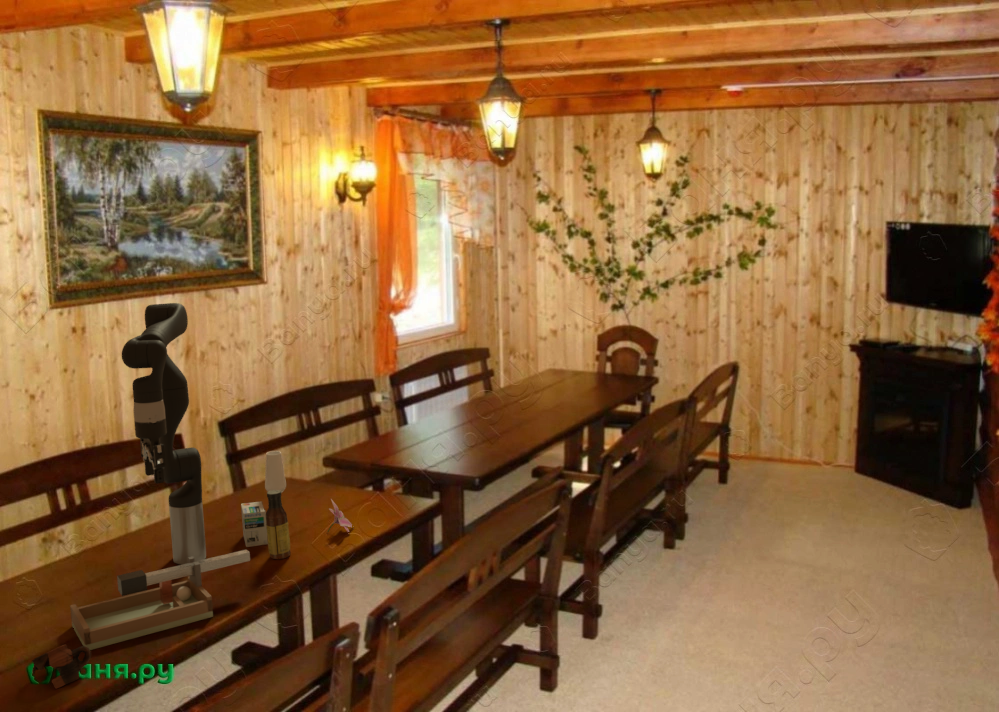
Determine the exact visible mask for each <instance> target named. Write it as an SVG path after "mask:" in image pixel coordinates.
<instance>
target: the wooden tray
mask: <svg viewBox="0 0 999 712" xmlns="http://www.w3.org/2000/svg"><path fill="white" fill-rule="evenodd" d="M191 562H195V559H194V557H193V556H192V557H188V563H191ZM202 581H203V580H202V573H201V568H200V563H199V562H196V563H194V574H193V575H189V576H187V579H186V580H184V581H183V580H182V581H179V582H175V583H172V595H173V602H171V603H167V604H163V603H162V602H161V597H160V586H159V587H155V588H151V589H147V590H145V591H141V592H137V593H133V594H129V595H125V596H122V595H121V596H119V597H115V598H111V599H106V600H103V601H97V602H95V603H90V604H87V605H82V606H77V604H71V605H70V604H69V607H70V618H71V626H72V628H74V629H73V631H74V632H75V634H76V636H77V637H78V639H79V641H80V643H81V644H82V646H85V647H88V648H89V650H90V651H92V650H95V649H99V648H104V647H106V646H110V645H113V644H117V643H121V642H125V641H129V640H133V639H136V638H139V637H140V638H141V637H144V636H146V635H147V636H148V635H150V634H154V633H158V632H162V631H165V630H170V629H173V628H177V627H180V626H183V625H184V626H185V625H188V624H191V623H195V622H199V621H201V620H202V621H203V620H207V619H209V618H212V617H214V609H213V597H212V595H211V594H210V593H209V591H207V590H206V589H205V588H204V587H203V584H202ZM183 586H186V587H188V588H189V589H190V590H191V596H190V598H189V599H187V600H185V601H182V600H180V599H179V598H178V596H177V595H176V594H177V590H178V589H179V588H180V587H183Z"/></svg>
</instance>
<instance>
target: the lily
mask: <svg viewBox="0 0 999 712" xmlns="http://www.w3.org/2000/svg"><path fill="white" fill-rule="evenodd" d="M330 500H331V503H332V506H333V509H332V508H328V510H329V511H330V512H331V513H332V514H333V515H334V518H333V519H334V520H333V522H332V524H331V525H330V527H329V528H328V530H327V532H328V533H329V532H330V530H331V528H332V527H333V526H334V525H335V524H338V525H339V526H340V527H344V529H345V530H346V532H347V533H348V532H350V530H349V528H352V525H353V524H352V522H350V520H349V519H348V518H347V516H346V515H345V514H344V513H343V512H342V510H339V507H338V505H337V504H336V503H335V502H334V500H333V499H332V498H330ZM348 527H349V528H348Z"/></svg>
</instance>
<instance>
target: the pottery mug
mask: <svg viewBox="0 0 999 712" xmlns="http://www.w3.org/2000/svg"><path fill="white" fill-rule="evenodd" d="M81 653H83V654H84V657H83V659H82V660H80V656H81ZM92 653H93V652H92V650H89V648H88V647H85V646H83V645H82V646H78V647H77V648H75V649H70V648H68V646H67V644H62V645H59V646H57V647H55V648H53V649H52V650H49V651H47V652H45V653H43V654H41V655H38V656H37V657H36V658H34V659H33V660H32V661H31V662H32V663H33V667H32V670H31V671H32V675H34V674H35V673H36V671H43V670H44V669H45V668H49V667H51V668H53V669H54V670H56V671H58V673H59V675H58V676H56V677H55V678H53V679H52V680H51V683H52V685H53V687H54V689H55V690H57V689H60V688H61V687H63V686H65V685H68V684H70V683H73V682H75V681H77V680H78V679H80V672H82V671H83V668H84V667H85V666H87V664H89V662H90V660H91V658H92Z"/></svg>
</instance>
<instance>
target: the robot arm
mask: <svg viewBox="0 0 999 712" xmlns="http://www.w3.org/2000/svg"><path fill="white" fill-rule="evenodd" d="M188 319H189V318H188V312H187V310H186V308H185V306H184V305H183V304H182V303H177V302H168V303H158V304H157V303H156V304H150V305H149V304H148V305H147V306H146V307H145V309H144V324H145V329H144V331H142V333H141V334H140V335H137V336H135V337H132V338H131V339H129V340H128V341H126V343H125V344H124V345H123V347H122V349H121V359H122V362H123V364H124V365H125V366H126V367H128V368H129V369H135V370H136V369H137V370H138V369H152V370H151V373H150V374H147V375H144V376H139V377H137V378H135V379H134V380H133V381H132V397H133V421H134V422H133V423H134V433H135V437H136V439H139V442H140V456H141V458H142V461H143V462H144V472H145V475H146V476H147V477H148V476H153V480H154V484H156V485H157V484H163V483H166V484H175V483H180V482H185V483H184V484H183V485H181V487H179V488H177V489H176V490H174V491H172V492H171V493H170V494H169V495H168V509H169V521H170V523H169V524H170V535H171V546H172V547H171V548H172V549H171V550H172V558H173V559H172V561H173V563H174V564H177V565H183V564H187V563H188V557H192V556H193V557H194V559H195V562H196V561H200V560H204V559H207V548H206V546H207V545H206V535H205V534H206V533H205V520H204V508H203V507H204V506H203V485H202V476H203V475H202V459H201V455H200V452H199V450H198V449H197V448H196V447H187V448H185V447H184V448H179V449H174V447H173V446H174V440H175V436H176V432H177V430H178V428H179V425H180V424H181V422H182V420H183V418H184V416H185V415H186V413H187V411H188V409H189V408H188V407H189V404H190V397H189V395H190V394H189V385H188V381H187V377H186V376H185V375H184V373H183V372H182V371H181V370H180V368H179V367H178V366H177V365H176V363H175V362H174V361H173V360H172V359H171V357H170V355H169V354H168V349H167V347H168V345H169V344H171V342H173V341H174V340H175V339H177V338H178V337H180V336H182V335H183V334H185V333H186V331H187V328H188V322H189V321H188ZM158 462H159V463H158Z"/></svg>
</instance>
